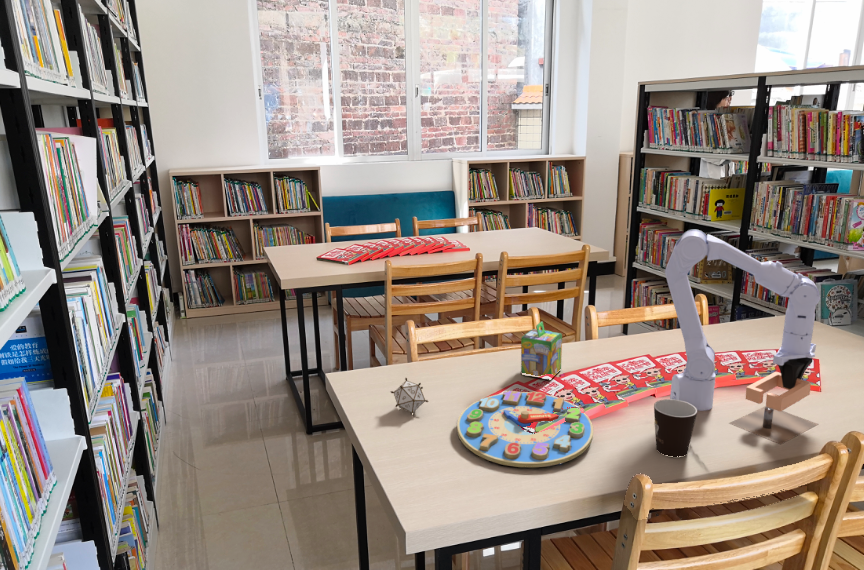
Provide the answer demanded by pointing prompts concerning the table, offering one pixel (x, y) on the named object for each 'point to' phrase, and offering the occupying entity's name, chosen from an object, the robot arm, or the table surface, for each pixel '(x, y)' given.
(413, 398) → the game die
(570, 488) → the table surface
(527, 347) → the chalk box
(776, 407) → the c link
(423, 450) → the table surface
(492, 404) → the shape sorting clock
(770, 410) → the hook post
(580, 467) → the table surface
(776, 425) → the stand base
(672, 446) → the coffee mug
